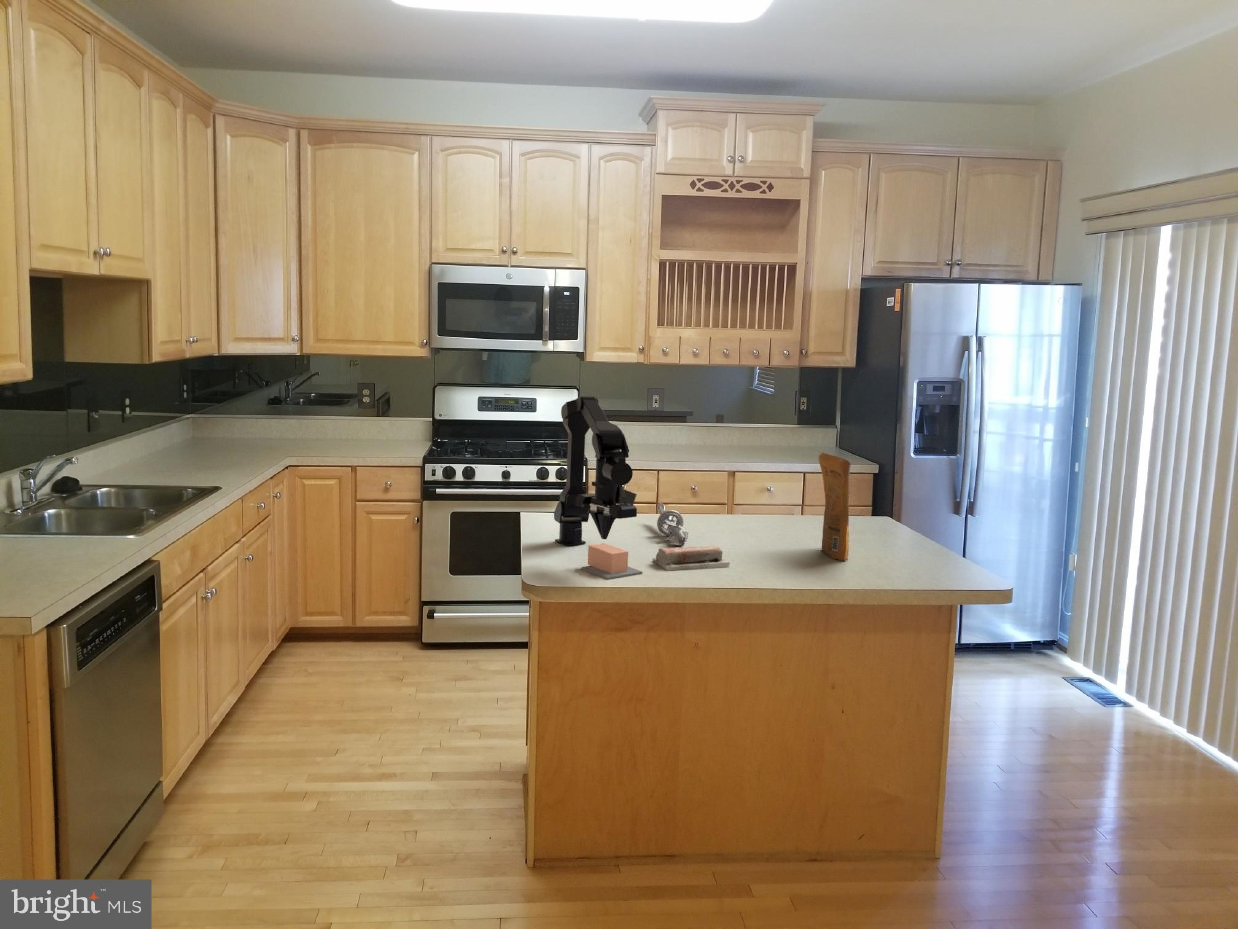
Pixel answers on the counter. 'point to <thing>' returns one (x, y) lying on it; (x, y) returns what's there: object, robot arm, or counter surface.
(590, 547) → the terracotta block
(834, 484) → the pancake mix bag
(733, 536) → the counter surface
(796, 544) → the counter surface
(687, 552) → the packaged product
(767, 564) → the counter surface
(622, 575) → the gray square plate
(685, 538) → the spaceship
